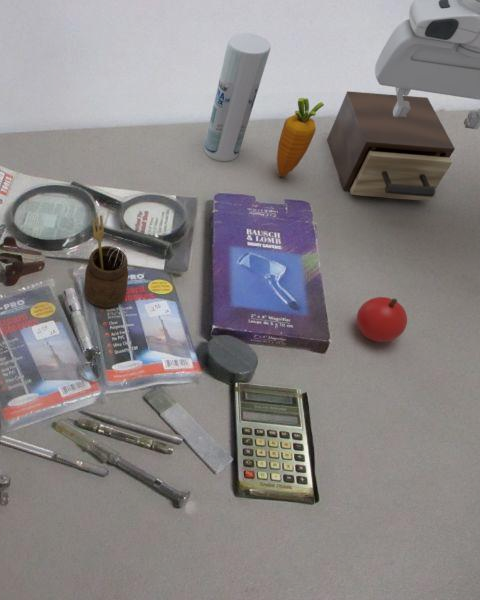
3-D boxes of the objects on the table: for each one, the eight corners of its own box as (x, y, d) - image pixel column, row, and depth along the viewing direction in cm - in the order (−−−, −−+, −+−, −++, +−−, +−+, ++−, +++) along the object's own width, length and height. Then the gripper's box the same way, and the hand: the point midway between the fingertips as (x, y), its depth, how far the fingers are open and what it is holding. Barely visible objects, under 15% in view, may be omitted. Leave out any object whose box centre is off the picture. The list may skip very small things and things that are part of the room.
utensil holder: (99, 316, 81) (105, 254, 72) (74, 286, 85) (77, 224, 75) (134, 298, 84) (144, 237, 74) (108, 270, 87) (115, 208, 78)
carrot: (299, 173, 103) (330, 96, 92) (290, 189, 100) (321, 111, 89) (272, 164, 105) (299, 86, 93) (262, 179, 102) (289, 100, 90)
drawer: (436, 220, 95) (462, 181, 89) (357, 213, 96) (378, 174, 90) (405, 151, 107) (427, 113, 101) (335, 146, 107) (352, 107, 101)
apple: (388, 317, 83) (412, 283, 78) (399, 353, 79) (425, 319, 74) (345, 314, 83) (366, 279, 78) (354, 348, 79) (377, 315, 74)
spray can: (201, 139, 109) (226, 31, 93) (236, 141, 109) (267, 33, 93) (204, 161, 105) (231, 52, 89) (241, 163, 105) (274, 54, 89)
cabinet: (424, 197, 100) (455, 148, 93) (342, 190, 101) (366, 141, 93) (401, 145, 110) (427, 97, 102) (327, 139, 110) (347, 91, 103)
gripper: (576, 20, 72) (509, 120, 82) (400, -3, 74) (357, 97, 85) (592, 45, 68) (519, 146, 78) (406, 20, 70) (360, 121, 81)
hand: (433, 120), depth 82 cm, fingers open, 8 cm apart
